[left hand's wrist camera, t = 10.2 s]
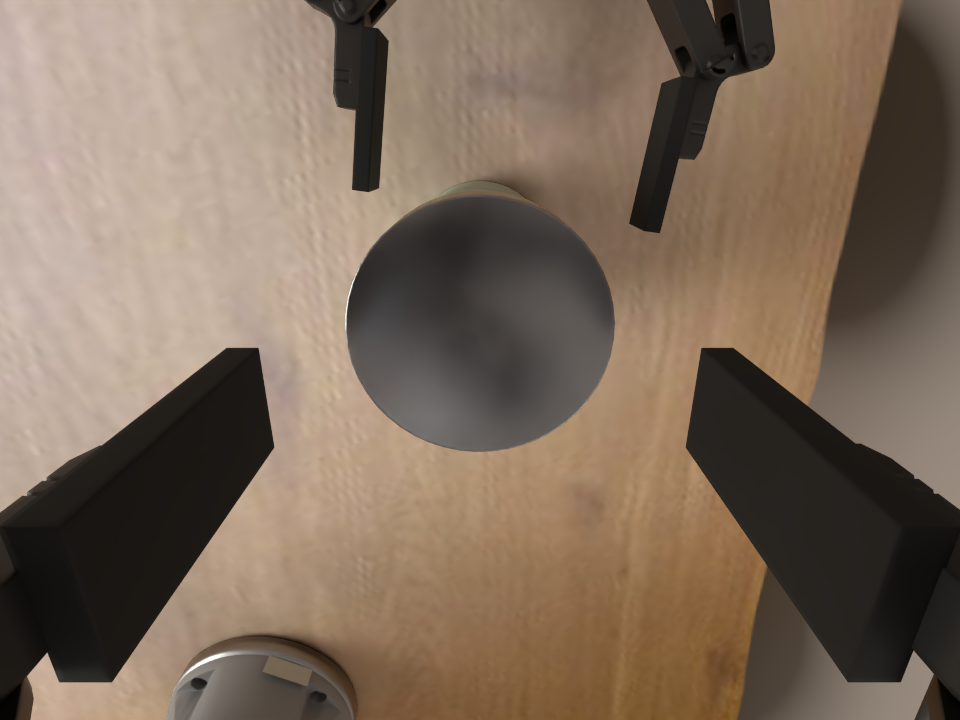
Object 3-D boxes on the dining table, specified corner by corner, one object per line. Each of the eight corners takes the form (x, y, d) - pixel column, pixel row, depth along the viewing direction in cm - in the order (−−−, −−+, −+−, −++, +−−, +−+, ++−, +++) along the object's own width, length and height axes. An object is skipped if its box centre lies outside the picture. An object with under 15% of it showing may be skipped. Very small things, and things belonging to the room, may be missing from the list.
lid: (313, 331, 20) (293, 353, 18) (461, 132, 18) (458, 129, 16) (495, 461, 22) (496, 494, 20) (650, 299, 20) (671, 317, 18)
